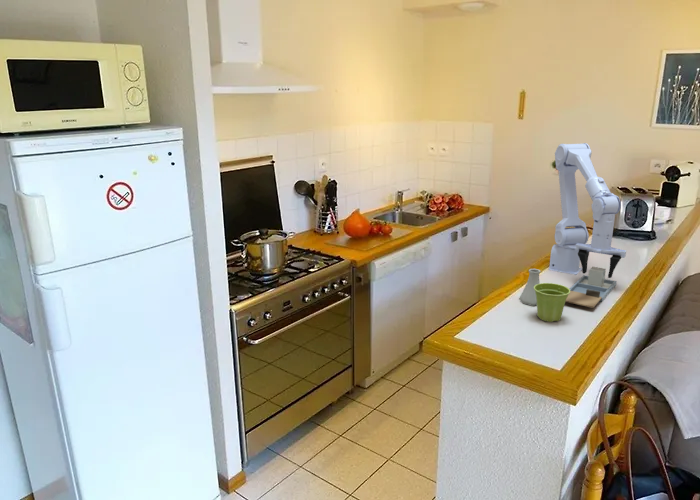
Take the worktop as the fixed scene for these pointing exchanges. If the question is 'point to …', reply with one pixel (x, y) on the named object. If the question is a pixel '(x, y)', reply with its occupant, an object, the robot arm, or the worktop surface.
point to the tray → (593, 287)
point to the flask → (530, 288)
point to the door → (584, 298)
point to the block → (596, 276)
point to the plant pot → (550, 300)
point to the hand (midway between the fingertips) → (597, 274)
